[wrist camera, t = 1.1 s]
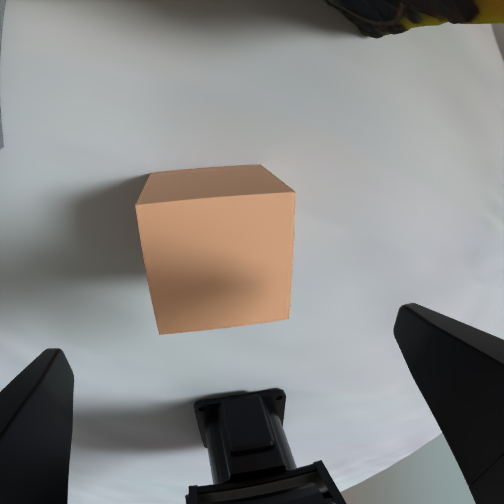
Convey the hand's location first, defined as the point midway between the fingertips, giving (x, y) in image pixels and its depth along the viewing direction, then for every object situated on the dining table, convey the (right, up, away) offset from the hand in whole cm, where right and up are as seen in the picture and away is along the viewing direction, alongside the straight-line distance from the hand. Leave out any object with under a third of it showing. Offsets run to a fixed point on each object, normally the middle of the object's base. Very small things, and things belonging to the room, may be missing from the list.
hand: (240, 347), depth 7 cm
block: (-2, +4, +8) cm, 9 cm away
